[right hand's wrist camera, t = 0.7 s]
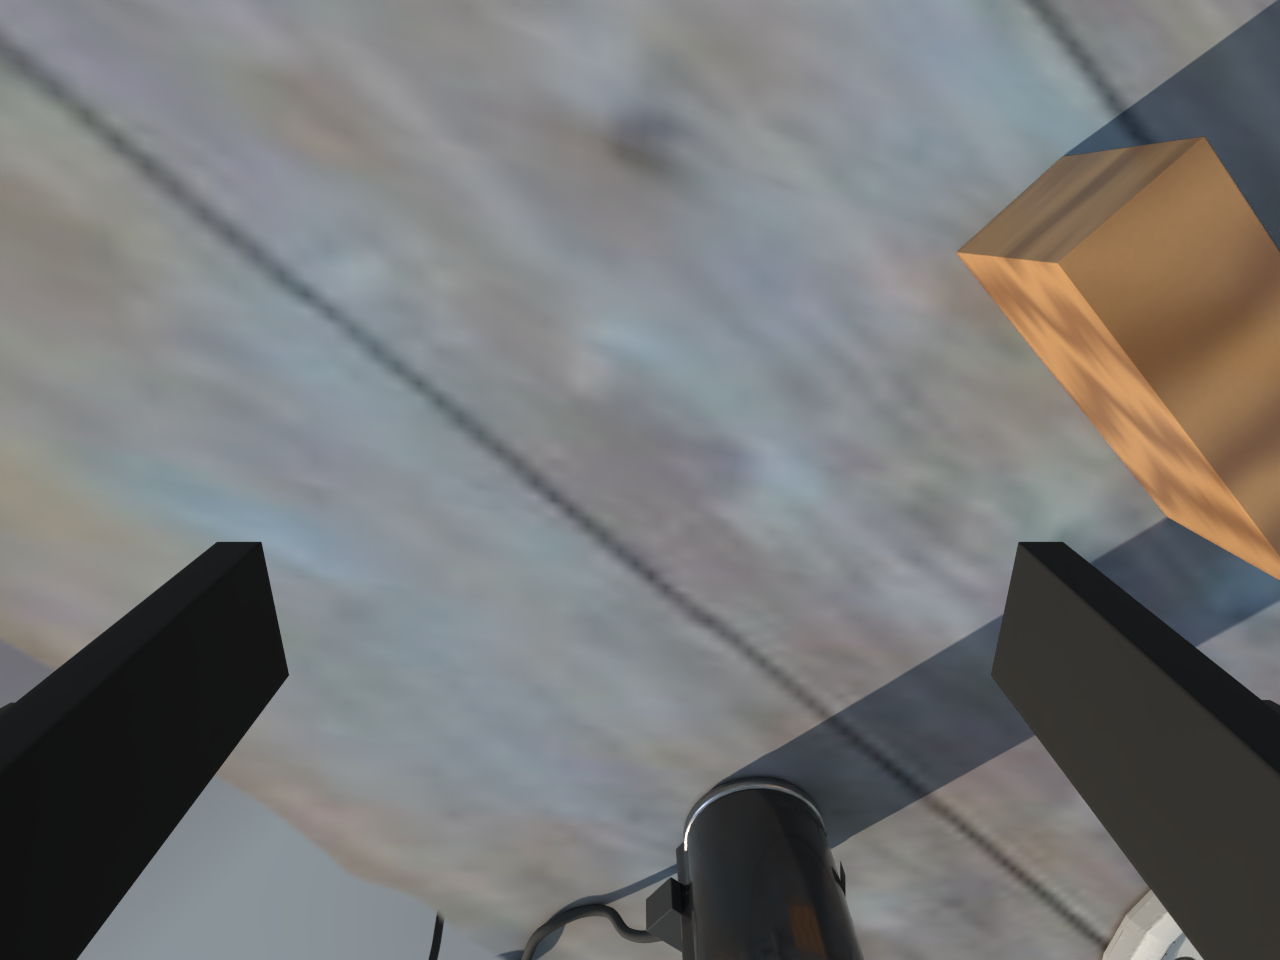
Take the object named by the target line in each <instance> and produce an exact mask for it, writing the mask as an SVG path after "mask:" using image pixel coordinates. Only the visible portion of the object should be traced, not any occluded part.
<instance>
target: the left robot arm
mask: <svg viewBox="0 0 1280 960" xmlns="http://www.w3.org/2000/svg"><path fill="white" fill-rule="evenodd" d="M676 858H677V874H678V881H676V880H674V879H673V878H669V879H668V880H667V881H666V882H665V883H664V884H663V885H662V886H660V887H659V888H658V889H657V890H656V891H655V892H654V893H653V894H652V895H651V896H649V897H648V898H647V899H646V930H645V931H640V930H634V929H631V928H629V927H628V926H627V925H626V924H625V923H624V921H623V920H622V918H621V916H620V915H619V914H618V912H617V911H616V910H615V909H613V908H611V907H609V906H605V905H586V906H581V907H577V908H574V909H571V910H569V911H566V912H564V913H562V914H560V915H558V916H557V917H555V918H553V919H551V920H550V921H548V922H547V923H545V924H544V925H542V926H541V927H540V928H538V929H537V930H536V931H535V932H534V933H533V935H532V936H531V938H530V939H529V941H528V943H527V945H526V947H525V950H524V953H523V956H522V958H521V960H531V959H532V956H533V954H534V951H535V949H536V946H537V945H538V943H539V942H540V941H541V940H542V939H543V938H544V937H545V936H547V935H548V934H550V933H551V932H553V931H554V930H556V929H558V928H559V927H561V926H563V925H565V924H567V923H569V922H571V921H574V920H577V919H580V918H583V917H589V916H602V917H606V918H608V919H609V920H610V921H611V922H612V924H613V926H614V927H615V929H616V930H617V932H618V933H619V934H620V935H621V936H622V937H623V938H625V939H627V940H630V941H633V942H637V943H652V942H658V941H664V942H666V943H667V944H669V945H671V946H672V947H674V948H676V949H677V950H679V951H681V952H682V956H683V960H864V958H863V954H862V951H861V948H860V945H859V941H858V938H857V935H856V931H855V928H854V925H853V922H852V918H851V915H850V912H849V909H848V905H847V902H846V899H845V873H844V870H843V867H842V864H841V861H840V879H839V876H838V873H837V869H836V866H835V862H834V859H833V856H832V853H831V850H830V846H829V843H828V840H827V833H826V828H825V824H824V821H823V818H822V815H821V812H820V810H819V808H818V806H817V805H816V803H815V802H814V801H813V799H812V798H811V797H810V796H809V795H808V794H806V793H805V792H804V791H803V790H801V789H799V788H798V787H796V786H794V785H792V784H790V783H787V782H784V781H781V780H777V779H772V778H763V777H753V778H743V779H738V780H734V781H731V782H728V783H725V784H722V785H720V786H718V787H716V788H714V789H713V790H711V791H710V792H708V793H707V794H705V795H704V796H703V797H702V798H701V799H700V800H699V801H698V802H697V803H696V804H695V805H694V807H693V808H692V809H691V811H690V813H689V815H688V817H687V819H686V822H685V826H684V841H683V843H682V844H681V845H680V846H679V847H678V848H677V849H676ZM443 925H444V919H443V918H442V917H441V916H440V915H439V914H437V915H436V921H435V928H434V934H433V940H432V946H431V951H430V955H429V960H438V955H439V950H440V945H441V939H442V932H443Z"/></svg>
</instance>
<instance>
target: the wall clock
mask: <svg viewBox="0 0 1280 960" xmlns="http://www.w3.org/2000/svg"><path fill="white" fill-rule="evenodd" d="M1103 960H1203V958H1202V957H1201V956H1200V954H1199V953H1198V952H1197V950H1196V949H1195V948H1194V946H1193V945H1192V944H1191V942H1190V941H1189V940H1188V938H1187V937H1186V936H1185V934H1184V933H1183V932H1182V930H1181V929H1180V928H1179V926H1178V925H1177V924H1176V922H1175V921H1174V920H1173V918H1172V917H1171V916H1170V914H1169V913H1168V911H1167V910H1166V909H1165V907H1164V906H1163V905H1162V903H1161V902H1160V901H1159V899H1158V898H1157V897H1156V895H1155V894H1154V893H1153V891H1152V890H1150V891H1149V892H1148V893H1147V894H1146V895H1145V896H1144V897H1143V898H1142V899H1141V900H1140V901H1139V902H1138V903H1137V904H1136V905H1135V906H1134V907H1133V908H1132V909H1131V911H1130V912H1129V913H1128V914H1127V915H1126V916H1125V918H1124V920H1123V921H1122V923H1121V925H1120V927H1119V928H1118V930H1117V932H1116V933H1115V935H1114V937H1113V939H1112V940H1111V942H1110V944H1109V945H1108V947H1107V949H1106V951H1105V952H1104V955H1103Z"/></svg>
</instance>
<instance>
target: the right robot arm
mask: <svg viewBox="0 0 1280 960" xmlns="http://www.w3.org/2000/svg"><path fill="white" fill-rule="evenodd" d="M288 676H289V673H288V668H287V663H286V659H285V654H284V649H283V644H282V639H281V634H280V630H279V625H278V620H277V615H276V610H275V605H274V601H273V596H272V591H271V586H270V581H269V576H268V572H267V567H266V562H265V557H264V552H263V547H262V543H261V542H216V543H215V544H214V545H213V546H211V547H210V548H209V549H208V550H206V551H205V552H204V553H203V554H201V555H200V556H199V557H198V558H196V559H195V560H194V561H193V562H191V563H190V564H189V565H188V566H186V567H185V568H184V569H183V570H181V571H180V572H179V573H178V574H176V575H175V576H174V577H173V578H171V579H170V580H169V581H168V582H166V583H165V584H164V585H162V586H161V587H160V588H159V589H157V590H156V591H155V592H154V593H152V594H151V595H150V596H149V597H147V598H146V599H145V600H144V601H142V602H141V603H140V604H139V605H137V606H136V607H135V608H134V609H132V610H131V611H130V612H129V613H127V614H126V615H125V616H124V617H122V618H121V619H120V620H119V621H117V622H116V623H115V624H114V625H112V626H111V627H110V628H108V629H107V630H106V631H105V632H103V633H102V634H101V635H100V636H98V637H97V638H96V639H95V640H93V641H92V642H91V643H90V644H88V645H87V646H86V647H85V648H83V649H82V650H81V651H80V652H78V653H77V654H76V655H75V656H73V657H72V658H71V659H70V660H68V661H67V662H66V663H65V664H63V665H62V666H61V667H60V668H58V669H57V670H56V671H54V672H53V673H52V674H51V675H50V676H48V677H47V678H46V679H44V680H43V681H42V682H41V683H39V684H38V685H37V686H36V687H34V688H33V689H32V690H31V691H29V692H28V693H27V694H26V695H24V696H23V697H22V698H21V699H19V700H18V701H17V702H16V703H9V704H8V705H6V706H4V707H2V708H0V960H77V958H78V957H79V956H80V954H81V953H82V952H83V950H84V949H85V948H86V946H87V945H88V944H89V942H90V941H91V940H92V938H93V937H94V935H95V934H96V933H97V932H98V930H99V929H100V928H101V926H102V925H103V924H104V922H105V921H106V920H107V918H108V917H109V916H110V914H111V913H112V911H113V910H114V909H115V907H116V906H117V905H118V903H119V902H120V901H121V899H122V898H123V897H124V895H125V894H126V893H127V891H128V890H129V889H130V887H131V886H132V885H133V883H134V882H135V881H136V879H137V878H138V877H139V875H140V874H141V873H142V871H143V870H144V869H145V867H146V866H147V865H148V863H149V862H150V861H151V859H152V858H153V857H154V855H155V854H156V853H157V851H158V850H159V849H160V847H161V846H162V845H163V843H164V842H165V840H166V839H167V838H168V837H169V835H170V834H171V832H172V831H173V830H174V828H175V827H176V826H177V824H178V823H179V822H180V820H181V819H182V818H183V816H184V815H185V814H186V812H187V811H188V810H189V808H190V807H191V806H192V804H193V803H194V802H195V800H196V799H197V798H198V796H199V795H200V794H201V792H202V791H203V790H204V788H205V787H206V786H207V784H208V783H209V782H210V780H211V779H212V778H213V776H214V775H215V774H216V772H217V771H218V770H219V768H220V767H221V766H222V764H223V763H224V762H225V760H226V759H227V758H228V756H229V755H230V754H231V752H232V751H233V750H234V748H235V747H236V745H237V744H238V743H239V741H240V740H241V739H242V737H243V736H244V735H245V733H246V732H247V731H248V729H249V728H250V727H251V725H252V724H253V723H254V721H255V720H256V719H257V717H258V716H259V715H260V713H261V712H262V711H263V709H264V708H265V707H266V705H267V704H268V703H269V701H270V700H271V699H272V697H273V696H274V695H275V693H276V692H277V691H278V689H279V688H280V687H281V685H282V684H283V683H284V681H285V680H286V679H287V677H288ZM991 676H992V677H993V679H994V680H995V681H996V683H997V684H998V685H999V687H1000V688H1001V689H1002V691H1003V692H1004V693H1005V695H1006V696H1007V697H1008V699H1009V700H1010V701H1011V703H1012V704H1013V705H1014V707H1015V708H1016V709H1017V711H1018V712H1019V713H1020V715H1021V716H1022V717H1023V719H1024V720H1025V721H1026V723H1027V724H1028V725H1029V727H1030V728H1031V729H1032V731H1033V732H1034V733H1035V735H1036V736H1037V737H1038V739H1039V740H1040V741H1041V743H1042V744H1043V745H1044V747H1045V748H1046V750H1047V751H1048V752H1049V754H1050V755H1051V756H1052V758H1053V759H1054V760H1055V762H1056V763H1057V764H1058V766H1059V767H1060V768H1061V770H1062V771H1063V772H1064V774H1065V775H1066V776H1067V778H1068V779H1069V780H1070V782H1071V783H1072V784H1073V786H1074V787H1075V788H1076V790H1077V791H1078V792H1079V794H1080V795H1081V796H1082V798H1083V799H1084V800H1085V802H1086V803H1087V804H1088V806H1089V807H1090V808H1091V810H1092V811H1093V812H1094V814H1095V815H1096V816H1097V818H1098V819H1099V820H1100V822H1101V823H1102V824H1103V826H1104V827H1105V828H1106V830H1107V831H1108V833H1109V834H1110V835H1111V837H1112V838H1113V839H1114V841H1115V842H1116V843H1117V845H1118V846H1119V847H1120V849H1121V850H1122V851H1123V853H1124V854H1125V855H1126V857H1127V858H1128V859H1129V861H1130V862H1131V863H1132V865H1133V866H1134V867H1135V869H1136V870H1137V871H1138V873H1139V874H1140V875H1141V877H1142V878H1143V879H1144V881H1145V882H1146V883H1147V885H1148V886H1149V887H1150V889H1151V890H1152V891H1153V893H1154V894H1155V895H1156V897H1157V898H1158V899H1159V901H1160V902H1161V903H1162V905H1163V906H1164V907H1165V909H1166V910H1167V911H1168V913H1169V914H1170V916H1171V917H1172V918H1173V920H1174V921H1175V922H1176V924H1177V925H1178V926H1179V928H1180V929H1181V930H1182V932H1183V933H1184V934H1185V936H1186V937H1187V938H1188V940H1189V941H1190V942H1191V944H1192V945H1193V946H1194V948H1195V949H1196V950H1197V952H1198V953H1199V954H1200V956H1201V957H1202V958H1203V960H1280V705H1278V704H1276V703H1274V702H1273V701H1271V700H1261V699H1259V698H1258V697H1257V696H1256V695H1254V694H1253V693H1252V692H1251V691H1249V690H1248V689H1247V688H1246V687H1244V686H1243V685H1242V684H1241V683H1239V682H1238V681H1237V680H1236V679H1234V678H1233V677H1232V676H1231V675H1229V674H1228V673H1227V672H1226V671H1224V670H1223V669H1222V668H1220V667H1219V666H1218V665H1217V664H1215V663H1214V662H1213V661H1212V660H1210V659H1209V658H1208V657H1207V656H1205V655H1204V654H1203V653H1202V652H1200V651H1199V650H1198V649H1197V648H1195V647H1194V646H1193V645H1192V644H1190V643H1189V642H1188V641H1187V640H1185V639H1184V638H1183V637H1182V636H1180V635H1179V634H1178V633H1177V632H1175V631H1174V630H1173V629H1172V628H1170V627H1169V626H1168V625H1166V624H1165V623H1164V622H1163V621H1161V620H1160V619H1159V618H1158V617H1156V616H1155V615H1154V614H1153V613H1151V612H1150V611H1149V610H1148V609H1146V608H1145V607H1144V606H1143V605H1141V604H1140V603H1139V602H1138V601H1136V600H1135V599H1134V598H1133V597H1131V596H1130V595H1129V594H1128V593H1126V592H1125V591H1124V590H1123V589H1121V588H1120V587H1119V586H1118V585H1116V584H1115V583H1114V582H1112V581H1111V580H1110V579H1109V578H1107V577H1106V576H1105V575H1104V574H1102V573H1101V572H1100V571H1099V570H1097V569H1096V568H1095V567H1094V566H1092V565H1091V564H1090V563H1089V562H1087V561H1086V560H1085V559H1084V558H1082V557H1081V556H1080V555H1079V554H1077V553H1076V552H1075V551H1074V550H1072V549H1071V548H1070V547H1069V546H1067V545H1066V544H1065V543H1064V542H1019V543H1018V547H1017V552H1016V557H1015V562H1014V567H1013V572H1012V576H1011V581H1010V586H1009V591H1008V596H1007V601H1006V605H1005V610H1004V615H1003V620H1002V625H1001V630H1000V634H999V639H998V644H997V649H996V654H995V659H994V663H993V668H992V673H991Z"/></svg>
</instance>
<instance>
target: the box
mask: <svg viewBox="0 0 1280 960" xmlns="http://www.w3.org/2000/svg"><path fill="white" fill-rule="evenodd" d="M957 254H958V256H959V257H960V258H961V259H962V261H963V262H964V263H965V264H966V266H967V267H968V268H969V269H970V271H971V272H972V273H973V274H974V276H975V277H976V278H977V279H978V281H979V282H980V283H981V284H982V286H983V287H984V288H985V289H986V291H987V292H988V293H989V294H990V296H991V297H992V298H993V299H994V301H995V302H996V303H997V304H998V306H999V307H1000V308H1001V309H1002V311H1003V312H1004V313H1005V314H1006V316H1007V317H1008V318H1009V319H1010V321H1011V322H1012V323H1013V324H1014V326H1015V327H1016V328H1017V329H1018V331H1019V332H1020V333H1021V334H1022V336H1023V337H1024V338H1025V339H1026V341H1027V342H1028V343H1029V344H1030V346H1031V347H1032V348H1033V349H1034V351H1035V352H1036V353H1037V354H1038V356H1039V357H1040V358H1041V359H1042V361H1043V362H1044V363H1045V364H1046V366H1047V367H1048V368H1049V369H1050V371H1051V372H1052V373H1053V374H1054V376H1055V377H1056V378H1057V379H1058V381H1059V382H1060V383H1061V384H1062V386H1063V387H1064V388H1065V389H1066V391H1067V392H1068V393H1069V394H1070V396H1071V397H1072V398H1073V399H1074V401H1075V402H1076V403H1077V404H1078V406H1079V407H1080V408H1081V409H1082V411H1083V412H1084V413H1085V414H1086V416H1087V417H1088V418H1089V419H1090V421H1091V422H1092V423H1093V424H1094V426H1095V427H1096V428H1097V429H1098V431H1099V432H1100V433H1101V434H1102V436H1103V437H1104V438H1105V439H1106V441H1107V442H1108V443H1109V444H1110V446H1111V447H1112V448H1113V449H1114V451H1115V452H1116V453H1117V454H1118V456H1119V457H1120V458H1121V459H1122V461H1123V462H1124V463H1125V464H1126V466H1127V467H1128V468H1129V469H1130V471H1131V472H1132V473H1133V474H1134V476H1135V477H1136V478H1137V479H1138V481H1139V482H1140V483H1141V484H1142V486H1143V487H1144V488H1145V489H1146V491H1147V492H1148V493H1149V494H1150V496H1151V497H1152V498H1153V499H1154V501H1155V502H1156V503H1157V504H1158V506H1159V507H1160V508H1161V509H1162V511H1163V512H1164V513H1165V514H1166V516H1167V517H1168V518H1170V519H1172V520H1174V521H1176V522H1177V523H1179V524H1181V525H1183V526H1184V527H1186V528H1188V529H1190V530H1191V531H1193V532H1195V533H1197V534H1199V535H1200V536H1202V537H1204V538H1206V539H1207V540H1209V541H1211V542H1213V543H1214V544H1216V545H1218V546H1220V547H1222V548H1223V549H1225V550H1227V551H1229V552H1230V553H1232V554H1234V555H1236V556H1237V557H1239V558H1241V559H1243V560H1245V561H1246V562H1248V563H1250V564H1252V565H1253V566H1255V567H1257V568H1259V569H1261V570H1262V571H1264V572H1266V573H1268V574H1269V575H1271V576H1273V577H1275V578H1276V579H1278V580H1280V251H1279V249H1278V248H1277V246H1276V245H1275V243H1274V242H1273V240H1272V239H1271V237H1270V236H1269V234H1268V233H1267V231H1266V230H1265V228H1264V226H1263V225H1262V223H1261V222H1260V220H1259V219H1258V217H1257V216H1256V214H1255V213H1254V211H1253V210H1252V208H1251V206H1250V205H1249V203H1248V202H1247V200H1246V199H1245V197H1244V196H1243V194H1242V193H1241V191H1240V190H1239V188H1238V187H1237V185H1236V183H1235V182H1234V180H1233V179H1232V177H1231V176H1230V174H1229V173H1228V171H1227V170H1226V168H1225V167H1224V165H1223V164H1222V162H1221V160H1220V159H1219V157H1218V156H1217V154H1216V153H1215V151H1214V150H1213V148H1212V147H1211V145H1210V144H1209V142H1208V141H1207V139H1206V137H1204V136H1203V137H1196V138H1189V139H1182V140H1175V141H1169V142H1162V143H1155V144H1148V145H1141V146H1134V147H1127V148H1120V149H1113V150H1106V151H1099V152H1092V153H1085V154H1078V155H1071V156H1064V157H1062V158H1060V159H1059V160H1058V161H1057V162H1056V163H1055V164H1054V165H1053V166H1052V167H1050V168H1049V169H1048V170H1047V171H1046V172H1045V173H1044V174H1043V175H1042V176H1041V177H1039V178H1038V179H1037V180H1036V181H1035V182H1034V183H1033V184H1032V185H1031V186H1029V187H1028V188H1027V189H1026V190H1025V191H1024V192H1023V193H1022V194H1021V195H1019V196H1018V197H1017V198H1016V199H1015V200H1014V201H1013V202H1012V203H1011V204H1010V205H1008V206H1007V207H1006V208H1005V209H1004V210H1003V211H1002V212H1001V213H1000V214H998V215H997V216H996V217H995V218H994V219H993V220H992V221H991V222H990V223H989V224H987V225H986V226H985V227H984V228H983V229H982V230H981V231H980V232H979V233H977V234H976V235H975V236H974V237H973V238H972V239H971V240H970V241H969V242H967V243H966V244H965V245H964V246H963V247H962V248H961V249H960V250H959V251H958V252H957Z"/></svg>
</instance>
